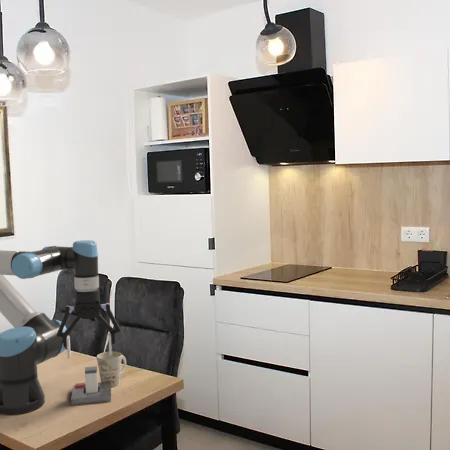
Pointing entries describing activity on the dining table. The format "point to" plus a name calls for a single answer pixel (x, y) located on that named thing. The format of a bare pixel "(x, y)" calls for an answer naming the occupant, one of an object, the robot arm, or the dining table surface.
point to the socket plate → (91, 394)
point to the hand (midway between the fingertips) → (89, 355)
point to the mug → (111, 367)
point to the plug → (91, 379)
